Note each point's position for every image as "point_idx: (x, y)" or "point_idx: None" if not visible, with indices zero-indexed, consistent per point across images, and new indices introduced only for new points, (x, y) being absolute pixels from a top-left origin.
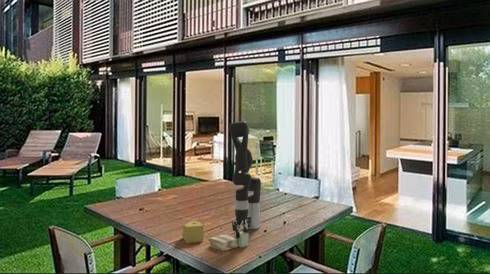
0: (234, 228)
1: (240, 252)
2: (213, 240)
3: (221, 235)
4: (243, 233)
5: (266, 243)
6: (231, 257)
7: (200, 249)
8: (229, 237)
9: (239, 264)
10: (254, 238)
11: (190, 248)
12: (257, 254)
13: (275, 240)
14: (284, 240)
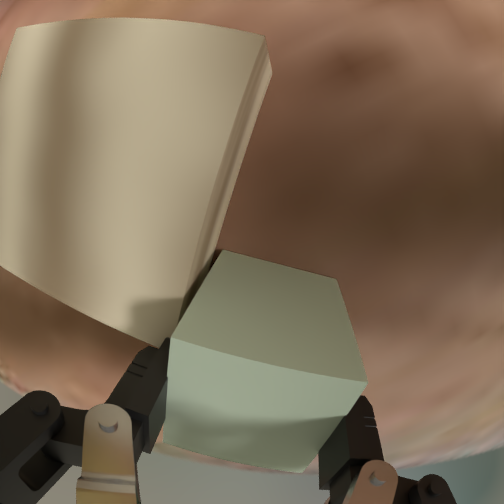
0: (37, 441)
1: (113, 363)
2: (5, 92)
3: (152, 37)
4: (254, 442)
5: (395, 433)
6: (28, 336)
7: (4, 59)
8: (134, 221)
9: (23, 390)
10: (493, 319)
11: (6, 4)
12: (166, 447)
13: (460, 435)
14: (460, 456)
